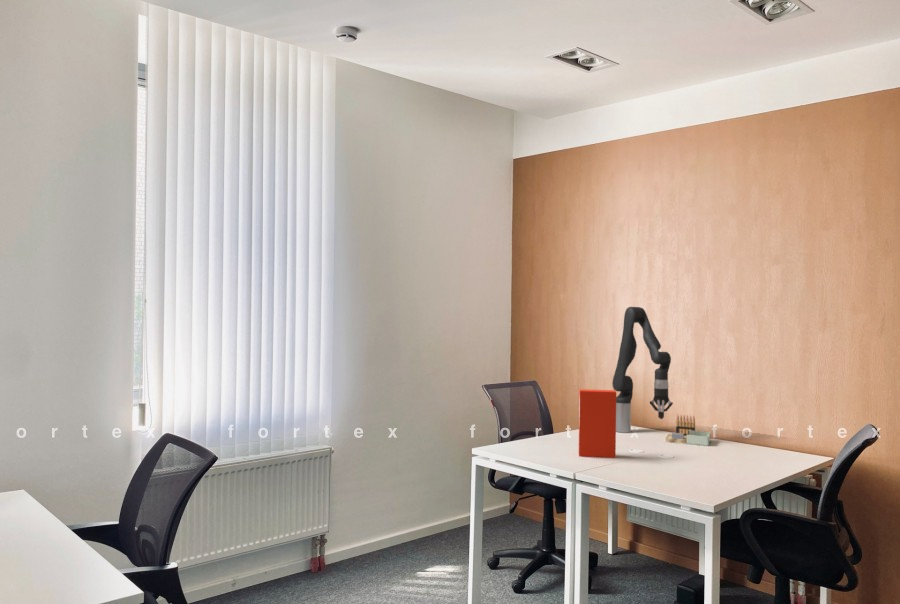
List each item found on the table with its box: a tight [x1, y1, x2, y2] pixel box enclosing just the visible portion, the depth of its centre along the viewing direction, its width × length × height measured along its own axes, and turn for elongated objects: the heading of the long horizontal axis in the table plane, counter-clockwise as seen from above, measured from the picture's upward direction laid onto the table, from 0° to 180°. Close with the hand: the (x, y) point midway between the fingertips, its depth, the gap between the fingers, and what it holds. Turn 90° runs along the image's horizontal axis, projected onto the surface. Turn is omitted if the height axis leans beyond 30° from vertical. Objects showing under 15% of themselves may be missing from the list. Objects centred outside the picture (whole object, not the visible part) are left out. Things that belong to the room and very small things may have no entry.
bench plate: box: [665, 433, 688, 445], centre depth 369 cm, size 11×14×2 cm
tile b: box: [671, 432, 684, 439], centre depth 366 cm, size 6×5×2 cm
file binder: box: [578, 388, 617, 459], centre depth 326 cm, size 8×17×32 cm, turn 81°
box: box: [686, 430, 711, 447], centre depth 364 cm, size 11×16×5 cm
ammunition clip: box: [675, 414, 696, 436], centre depth 386 cm, size 11×2×12 cm, turn 67°
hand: (661, 418), depth 369 cm, fingers closed
